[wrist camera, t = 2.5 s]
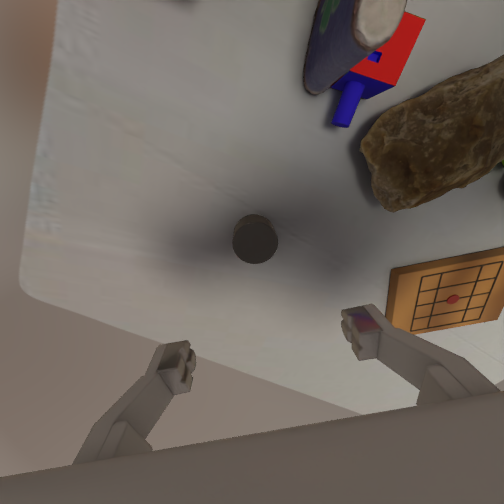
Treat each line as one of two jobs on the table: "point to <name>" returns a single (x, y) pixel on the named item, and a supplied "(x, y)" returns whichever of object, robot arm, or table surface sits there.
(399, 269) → the board
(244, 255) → the metal cylinder
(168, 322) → the table surface
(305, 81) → the flask
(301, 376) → the table surface
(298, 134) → the table surface
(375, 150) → the stone
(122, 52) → the table surface
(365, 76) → the toy building block
